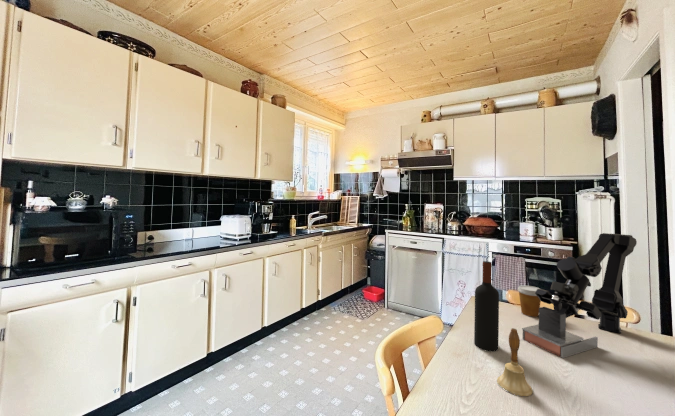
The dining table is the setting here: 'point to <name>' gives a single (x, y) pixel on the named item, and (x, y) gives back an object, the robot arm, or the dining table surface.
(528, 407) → the dining table surface
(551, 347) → the grey box tray
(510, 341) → the hand bell
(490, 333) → the wine bottle
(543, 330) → the lid
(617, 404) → the dining table surface
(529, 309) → the disposable coffee cup
